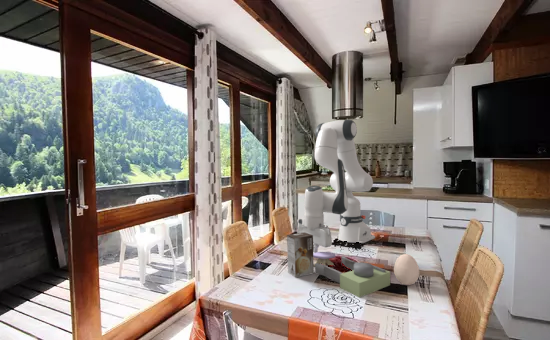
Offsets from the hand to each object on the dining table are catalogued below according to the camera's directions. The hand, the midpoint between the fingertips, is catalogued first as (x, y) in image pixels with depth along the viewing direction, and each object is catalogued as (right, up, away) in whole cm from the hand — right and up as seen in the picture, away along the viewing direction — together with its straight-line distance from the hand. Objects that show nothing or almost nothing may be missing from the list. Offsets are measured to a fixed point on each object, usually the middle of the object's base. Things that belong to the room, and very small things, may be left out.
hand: (314, 251), depth 133 cm
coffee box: (-7, -6, -12) cm, 15 cm away
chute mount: (+10, -5, -14) cm, 18 cm away
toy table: (+4, -5, -5) cm, 8 cm away
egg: (+31, -6, -24) cm, 40 cm away
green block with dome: (+16, -6, -25) cm, 30 cm away
